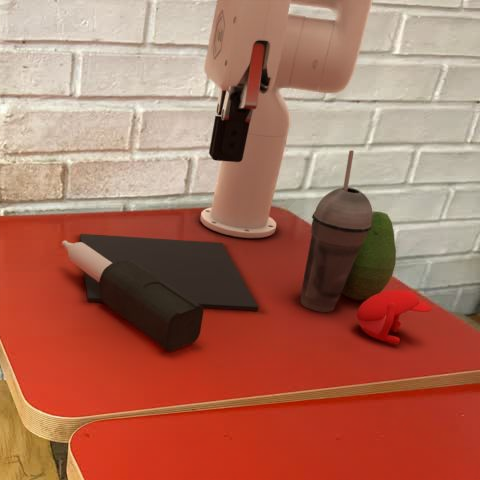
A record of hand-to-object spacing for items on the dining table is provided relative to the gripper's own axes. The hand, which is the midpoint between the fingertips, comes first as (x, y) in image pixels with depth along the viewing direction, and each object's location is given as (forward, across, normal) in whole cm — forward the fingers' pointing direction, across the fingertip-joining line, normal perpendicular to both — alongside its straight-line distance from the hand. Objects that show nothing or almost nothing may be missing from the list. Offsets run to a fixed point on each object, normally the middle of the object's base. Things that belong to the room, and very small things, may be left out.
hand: (225, 158), depth 71 cm
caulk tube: (+18, +5, -2) cm, 18 cm away
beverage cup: (+21, -9, +19) cm, 30 cm away
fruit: (+21, -12, +25) cm, 35 cm away
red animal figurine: (+21, -1, +25) cm, 32 cm away
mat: (+21, -17, -1) cm, 27 cm away
